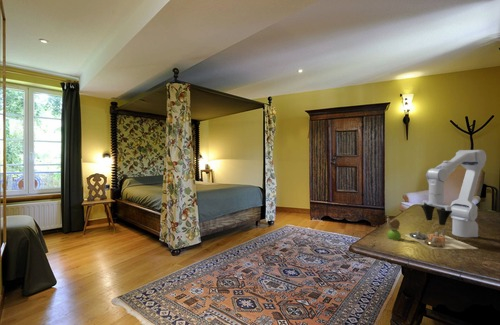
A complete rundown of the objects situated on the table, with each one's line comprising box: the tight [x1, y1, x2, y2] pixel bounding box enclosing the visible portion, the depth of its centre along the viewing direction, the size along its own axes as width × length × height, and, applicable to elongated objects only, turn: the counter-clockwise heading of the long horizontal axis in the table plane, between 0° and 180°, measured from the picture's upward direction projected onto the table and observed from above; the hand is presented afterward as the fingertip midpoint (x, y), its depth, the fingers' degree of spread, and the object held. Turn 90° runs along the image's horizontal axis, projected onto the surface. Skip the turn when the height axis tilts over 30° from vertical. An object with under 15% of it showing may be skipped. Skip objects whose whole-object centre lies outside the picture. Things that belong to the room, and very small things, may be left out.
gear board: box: [404, 228, 479, 250], centre depth 110 cm, size 20×18×5 cm
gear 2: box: [424, 239, 445, 248], centre depth 105 cm, size 7×7×2 cm
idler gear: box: [428, 233, 445, 243], centre depth 110 cm, size 6×6×2 cm
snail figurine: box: [386, 215, 402, 241], centre depth 113 cm, size 5×6×12 cm
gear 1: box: [409, 232, 428, 240], centre depth 114 cm, size 7×7×1 cm
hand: (435, 222), depth 113 cm, fingers open, 7 cm apart
